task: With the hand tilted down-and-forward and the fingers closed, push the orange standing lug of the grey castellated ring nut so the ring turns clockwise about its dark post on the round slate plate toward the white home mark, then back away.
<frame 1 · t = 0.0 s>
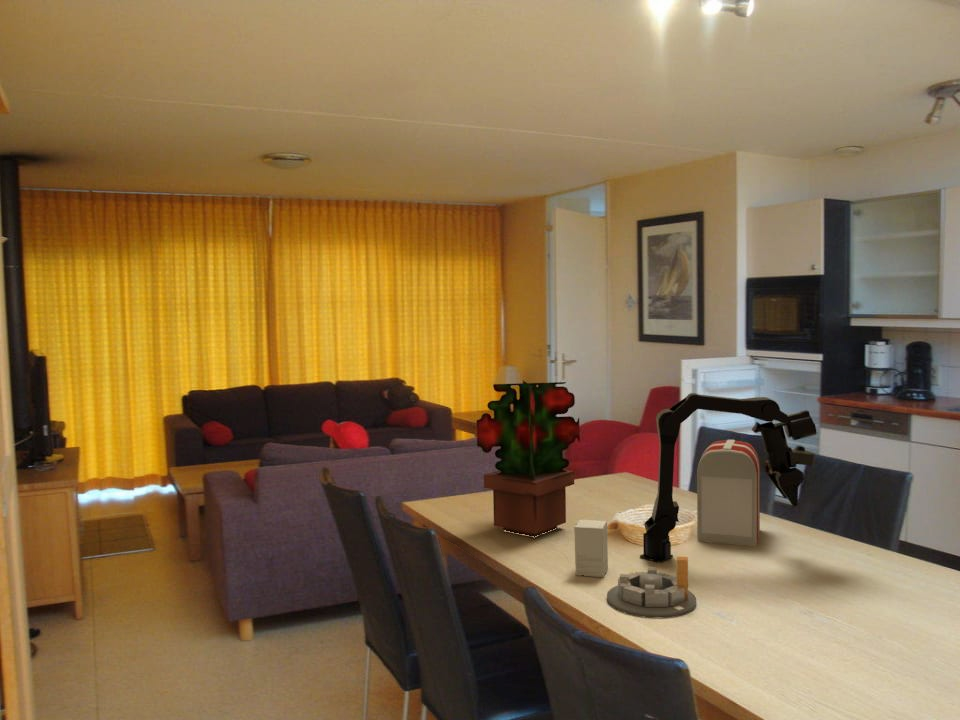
hand: (790, 502, 209), 15 cm above the table, tool pointing down, fingers open, 9 cm apart
red-striped tombstone block: (729, 535, 234), on the table
potted plant: (530, 530, 243), on the table
supplement box: (591, 572, 204), on the table
ring nut: (651, 576, 183), point 6 cm above the table, hinge at 0.0°
nut plate: (651, 600, 183), on the table
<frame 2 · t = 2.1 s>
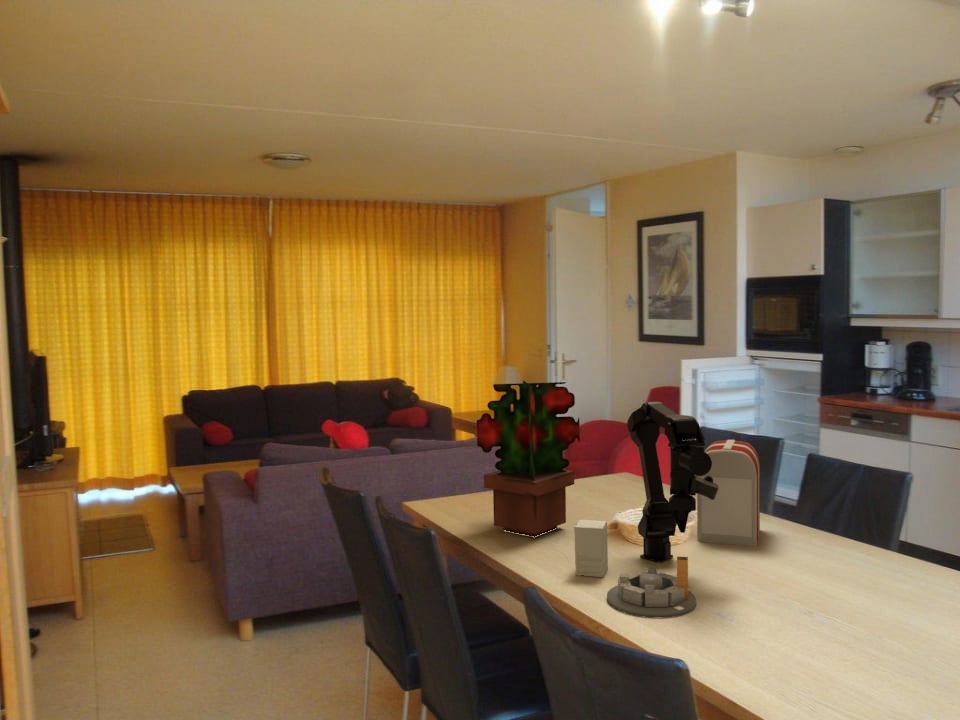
hand: (682, 530, 197), 12 cm above the table, tool pointing down, fingers open, 4 cm apart
nothing on the table moved.
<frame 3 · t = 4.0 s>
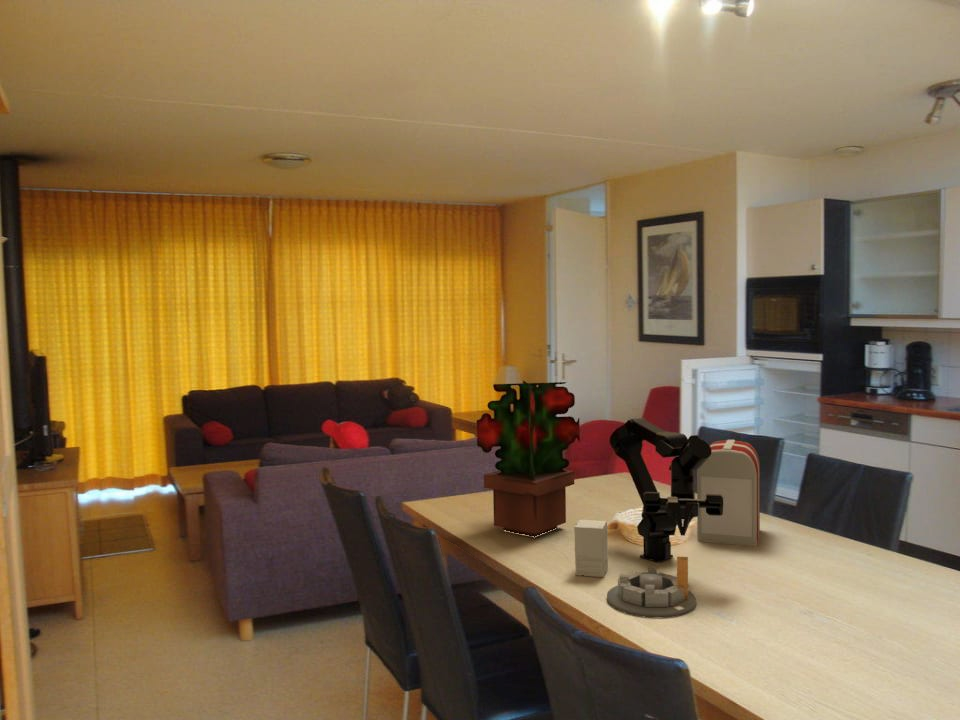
hand: (682, 534, 189), 13 cm above the table, tool tilted 45°, fingers closed
nothing on the table moved.
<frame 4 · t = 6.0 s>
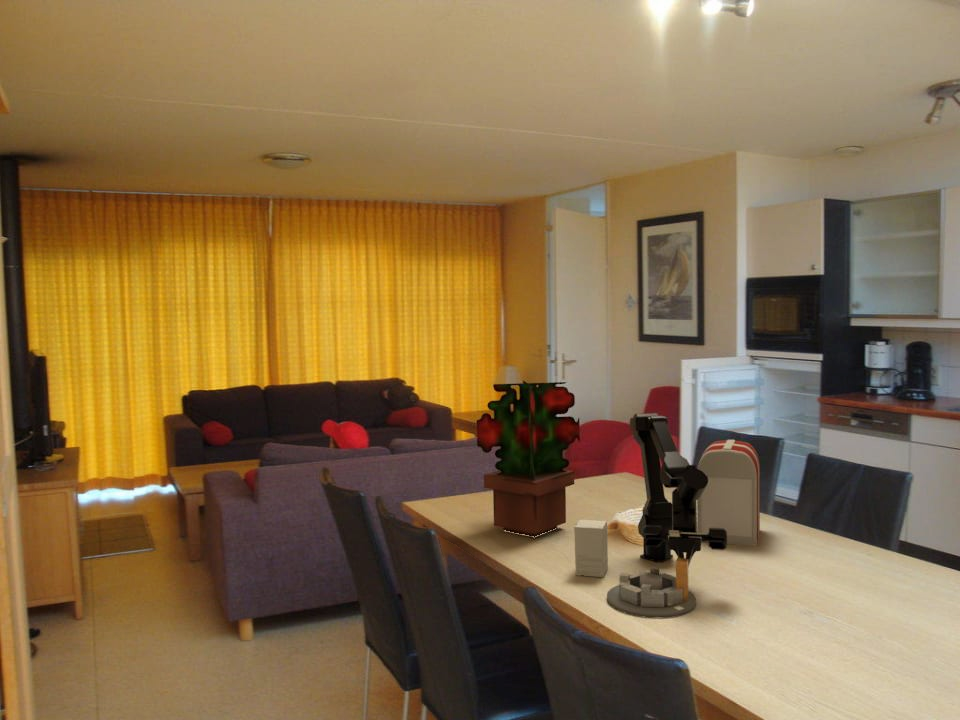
hand: (685, 570, 181), 7 cm above the table, tool tilted 45°, fingers closed, pressing on ring nut
ring nut: (651, 576, 183), point 6 cm above the table, hinge at 7.4°, touching gripper
everything else where it was.
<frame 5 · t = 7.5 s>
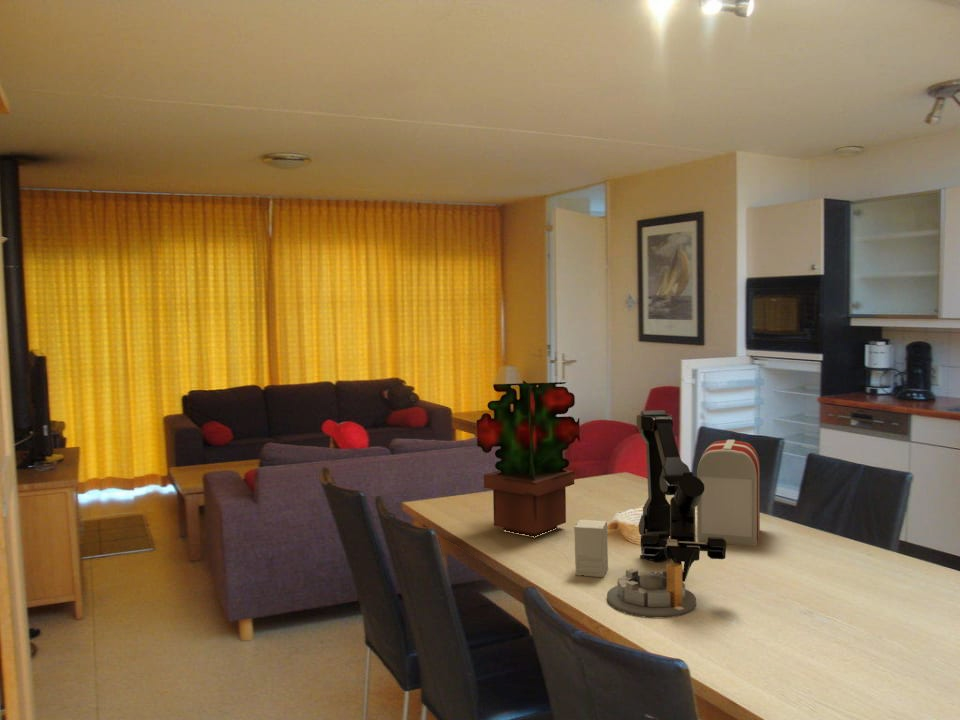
hand: (683, 581, 177), 6 cm above the table, tool tilted 45°, fingers closed
ring nut: (651, 576, 183), point 6 cm above the table, hinge at 40.8°, touching gripper
everything else where it was.
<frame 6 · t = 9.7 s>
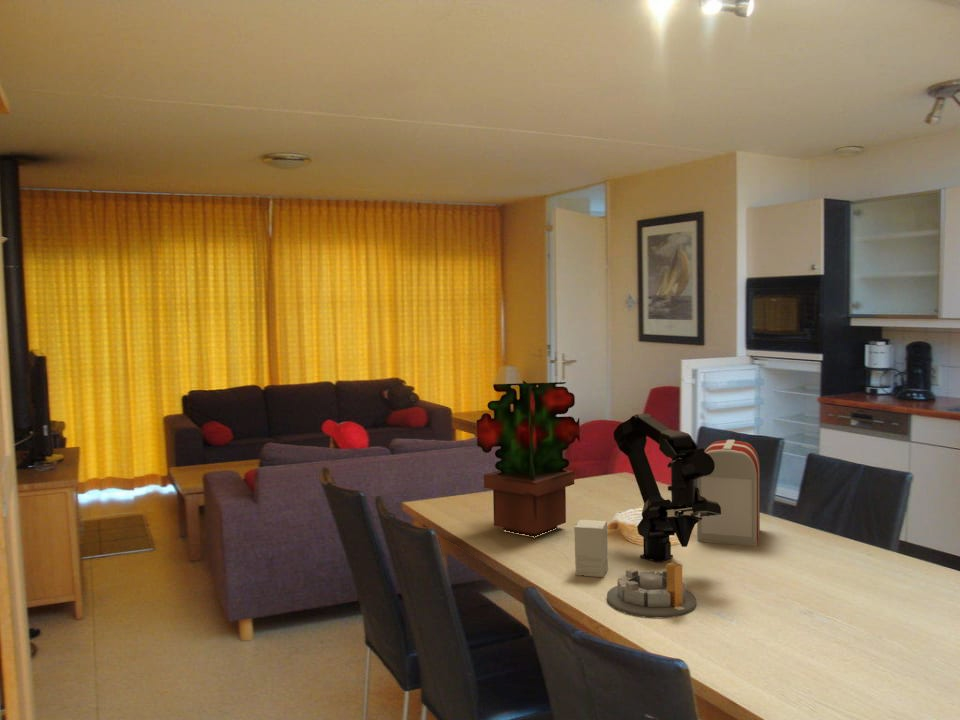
hand: (684, 546, 194), 9 cm above the table, tool tilted 25°, fingers closed
ring nut: (651, 576, 183), point 6 cm above the table, hinge at 40.9°
everything else where it was.
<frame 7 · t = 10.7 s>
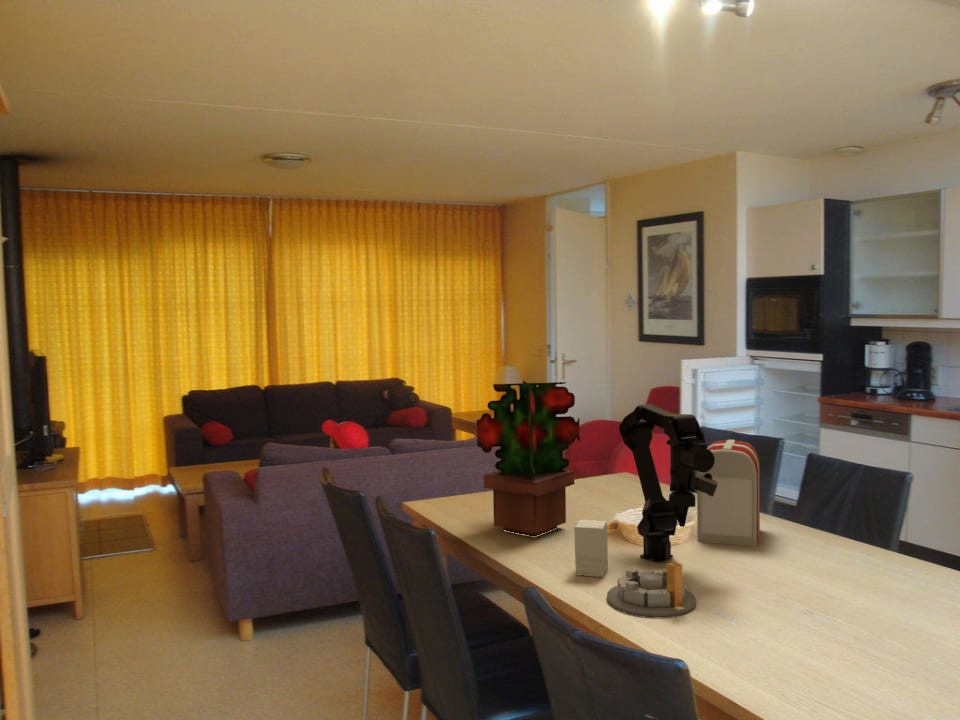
hand: (682, 526, 201), 12 cm above the table, tool pointing down, fingers closed
nothing on the table moved.
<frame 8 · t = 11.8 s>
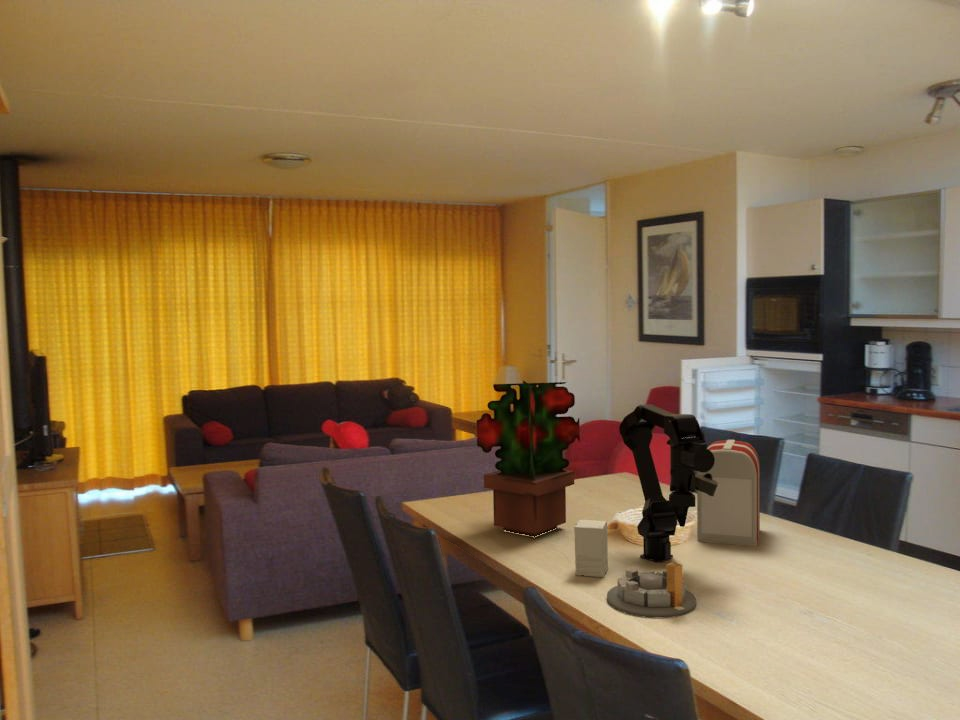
hand: (682, 526, 201), 12 cm above the table, tool pointing down, fingers closed
nothing on the table moved.
at the end: ring nut at +41° (first picture: +0°) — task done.
